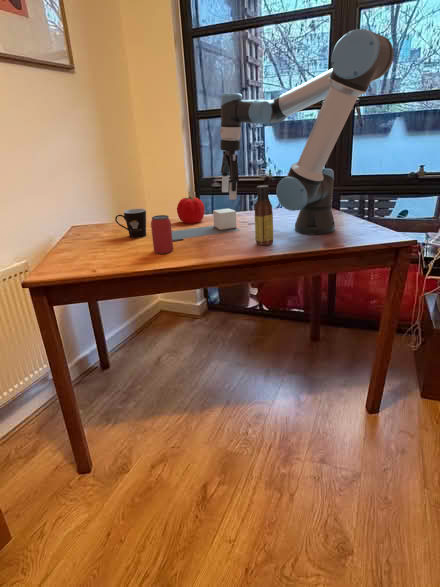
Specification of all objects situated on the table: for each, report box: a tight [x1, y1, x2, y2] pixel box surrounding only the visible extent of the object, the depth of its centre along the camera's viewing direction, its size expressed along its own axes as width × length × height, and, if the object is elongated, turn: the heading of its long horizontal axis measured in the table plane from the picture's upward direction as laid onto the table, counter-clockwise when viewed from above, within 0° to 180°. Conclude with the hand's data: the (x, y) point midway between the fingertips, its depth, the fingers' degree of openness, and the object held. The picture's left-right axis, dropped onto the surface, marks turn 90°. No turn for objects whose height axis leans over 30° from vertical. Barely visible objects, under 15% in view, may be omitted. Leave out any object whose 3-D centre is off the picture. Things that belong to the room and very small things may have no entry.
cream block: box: [212, 208, 237, 231], centre depth 154 cm, size 7×7×7 cm
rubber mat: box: [172, 225, 240, 243], centre depth 152 cm, size 13×28×1 cm, turn 112°
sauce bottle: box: [254, 184, 274, 247], centre depth 130 cm, size 7×6×20 cm
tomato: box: [176, 196, 206, 225], centre depth 167 cm, size 12×13×12 cm
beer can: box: [150, 214, 174, 255], centre depth 129 cm, size 7×7×12 cm
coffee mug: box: [115, 208, 147, 239], centre depth 150 cm, size 12×9×10 cm
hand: (228, 195), depth 154 cm, fingers open, 13 cm apart
